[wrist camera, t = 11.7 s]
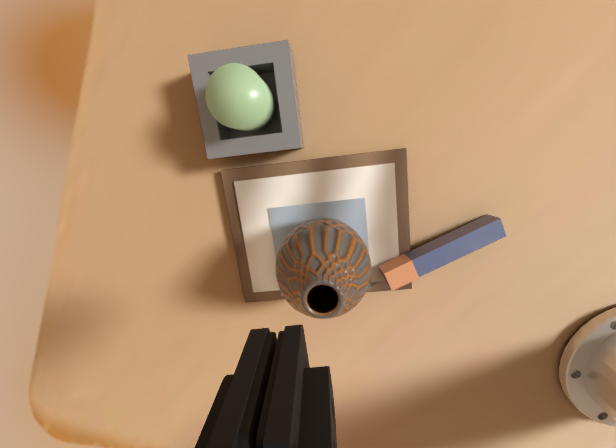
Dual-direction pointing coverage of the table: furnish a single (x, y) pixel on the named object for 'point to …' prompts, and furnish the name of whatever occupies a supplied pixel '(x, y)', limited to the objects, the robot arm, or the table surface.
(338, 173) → the picture frame
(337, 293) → the vase
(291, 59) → the button box
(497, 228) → the marker
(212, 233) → the table surface
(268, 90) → the button
